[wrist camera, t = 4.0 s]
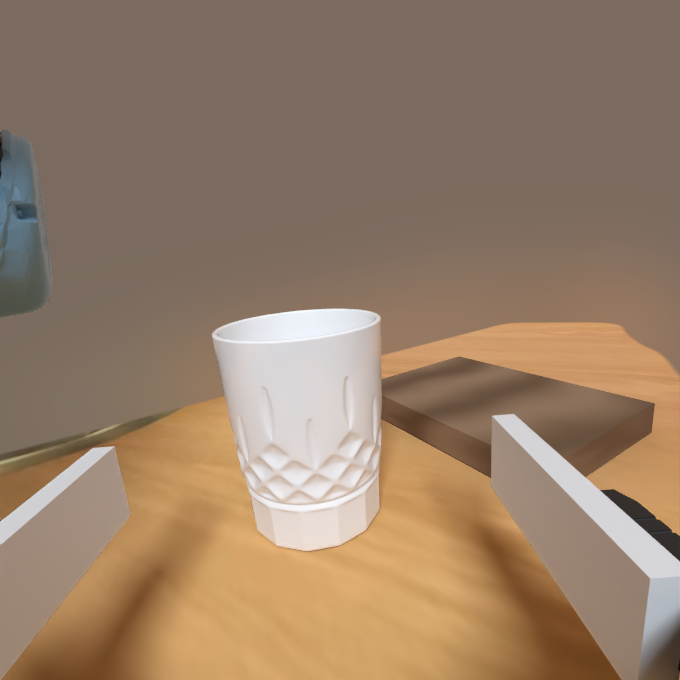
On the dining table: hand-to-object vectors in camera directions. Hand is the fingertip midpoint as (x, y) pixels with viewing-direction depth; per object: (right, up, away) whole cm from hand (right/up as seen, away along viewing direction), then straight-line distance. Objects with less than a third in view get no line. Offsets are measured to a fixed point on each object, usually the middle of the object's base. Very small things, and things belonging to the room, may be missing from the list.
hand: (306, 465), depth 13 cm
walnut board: (+12, -2, +15) cm, 20 cm away
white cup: (0, -5, +7) cm, 8 cm away
